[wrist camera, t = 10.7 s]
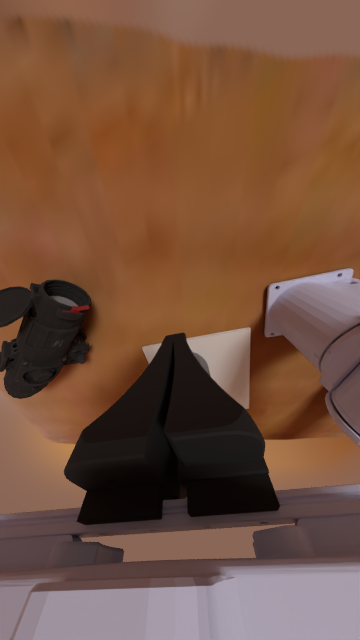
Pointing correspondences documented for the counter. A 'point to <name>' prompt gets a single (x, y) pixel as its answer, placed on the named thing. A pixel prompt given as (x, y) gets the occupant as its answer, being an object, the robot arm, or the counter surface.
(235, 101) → the counter surface
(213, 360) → the mat
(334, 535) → the robot arm
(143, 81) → the counter surface
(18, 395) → the night vision scope
